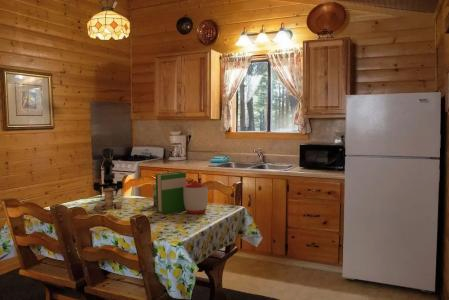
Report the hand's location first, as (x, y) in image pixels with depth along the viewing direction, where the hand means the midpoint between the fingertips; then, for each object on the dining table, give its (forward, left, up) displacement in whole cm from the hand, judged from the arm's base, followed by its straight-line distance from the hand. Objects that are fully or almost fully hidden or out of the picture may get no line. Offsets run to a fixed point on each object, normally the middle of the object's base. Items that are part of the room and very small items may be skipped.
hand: (108, 195), depth 253 cm
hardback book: (+19, +39, -9) cm, 44 cm away
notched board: (-5, 0, -8) cm, 10 cm away
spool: (-1, 0, -8) cm, 9 cm away
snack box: (+3, +39, -9) cm, 40 cm away
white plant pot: (+26, +54, -9) cm, 61 cm away
